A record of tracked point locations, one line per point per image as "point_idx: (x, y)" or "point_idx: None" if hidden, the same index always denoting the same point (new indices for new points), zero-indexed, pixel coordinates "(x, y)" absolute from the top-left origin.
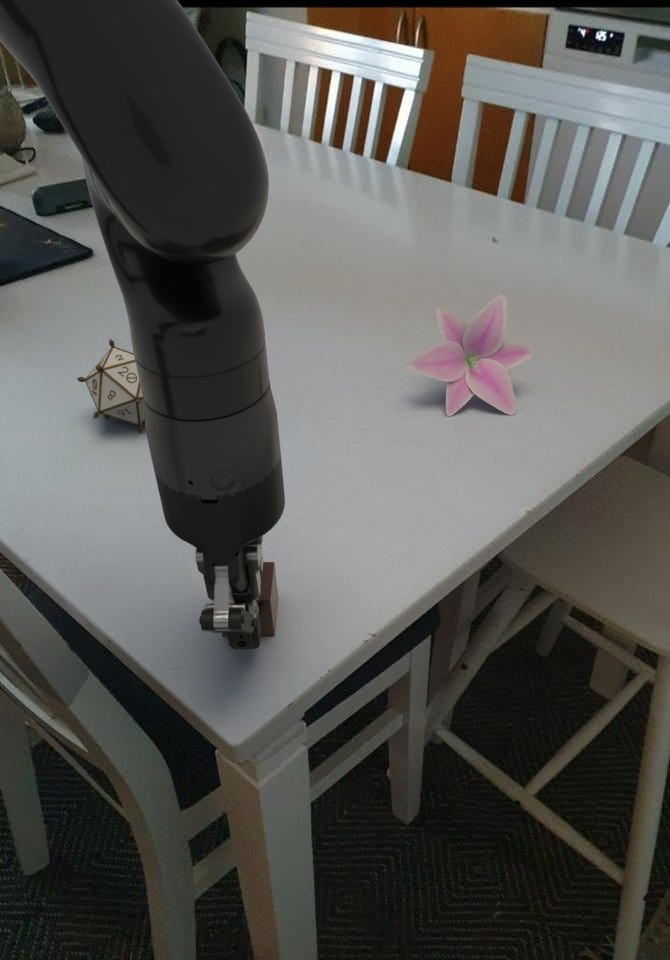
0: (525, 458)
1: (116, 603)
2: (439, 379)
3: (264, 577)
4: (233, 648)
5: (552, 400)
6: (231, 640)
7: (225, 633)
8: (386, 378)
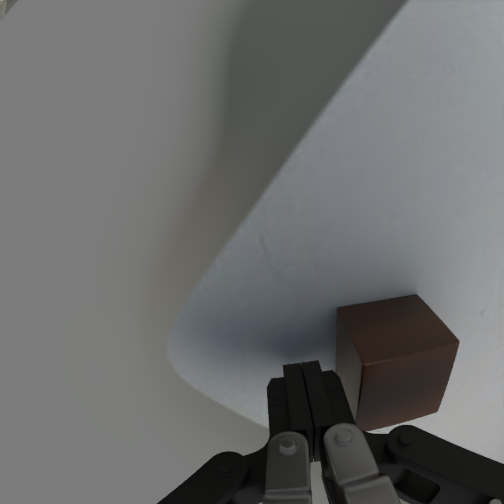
0: None
1: (405, 91)
2: None
3: (408, 413)
4: (269, 382)
5: None
6: (268, 400)
7: (339, 317)
8: None
